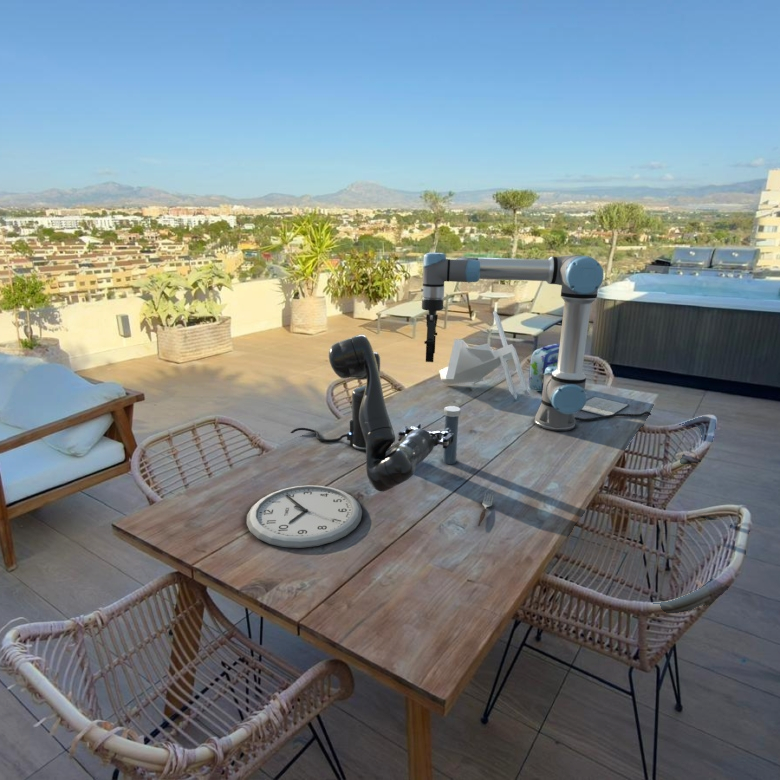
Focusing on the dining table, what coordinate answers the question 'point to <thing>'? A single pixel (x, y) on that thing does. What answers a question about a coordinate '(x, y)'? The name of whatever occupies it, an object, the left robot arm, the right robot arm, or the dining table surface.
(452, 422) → the bottle
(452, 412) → the lid
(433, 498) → the dining table surface
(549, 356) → the lunch box
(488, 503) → the fork
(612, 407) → the invitation card
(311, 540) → the wall clock
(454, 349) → the white plastic object
